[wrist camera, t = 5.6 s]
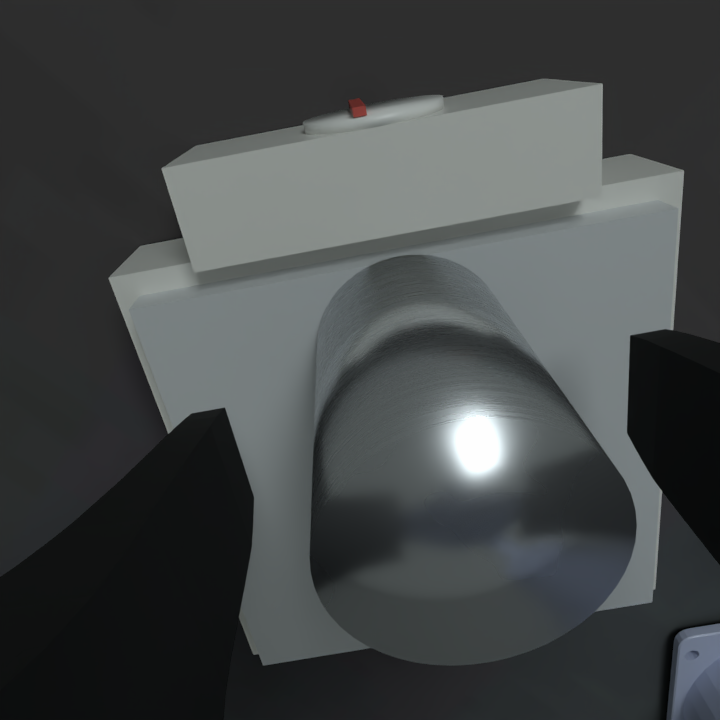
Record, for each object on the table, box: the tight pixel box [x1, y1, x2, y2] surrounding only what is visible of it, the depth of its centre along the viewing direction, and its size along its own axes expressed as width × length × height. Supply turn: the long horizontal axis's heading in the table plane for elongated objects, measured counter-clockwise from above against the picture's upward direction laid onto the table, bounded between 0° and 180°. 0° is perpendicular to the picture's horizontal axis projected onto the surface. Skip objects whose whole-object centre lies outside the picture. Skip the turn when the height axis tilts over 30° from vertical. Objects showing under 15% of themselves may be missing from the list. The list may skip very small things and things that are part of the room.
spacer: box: [310, 254, 637, 666], centre depth 10 cm, size 4×4×6 cm
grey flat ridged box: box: [109, 79, 684, 666], centre depth 15 cm, size 14×12×3 cm
